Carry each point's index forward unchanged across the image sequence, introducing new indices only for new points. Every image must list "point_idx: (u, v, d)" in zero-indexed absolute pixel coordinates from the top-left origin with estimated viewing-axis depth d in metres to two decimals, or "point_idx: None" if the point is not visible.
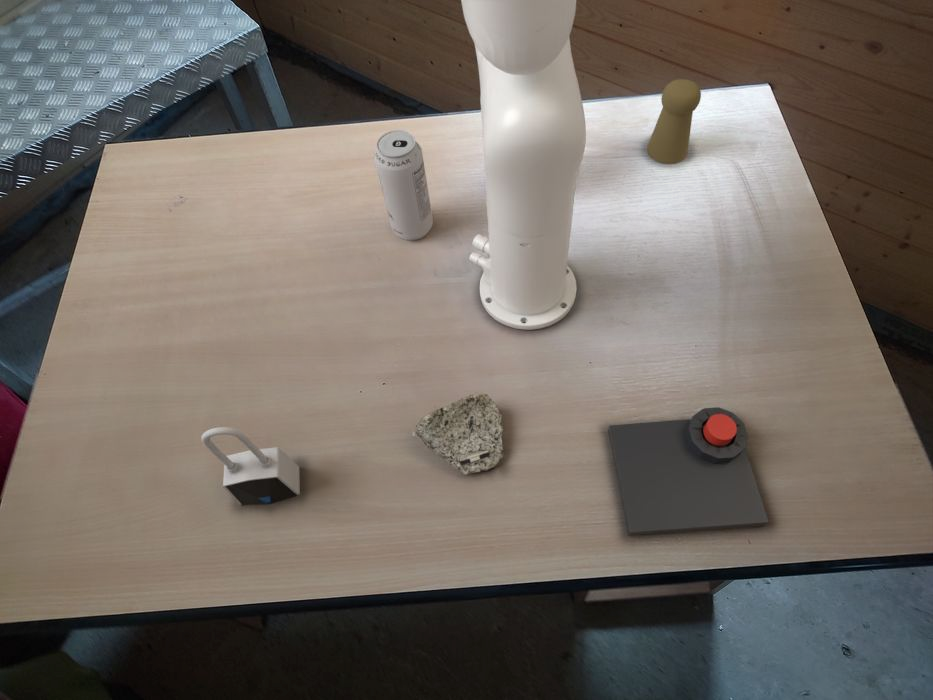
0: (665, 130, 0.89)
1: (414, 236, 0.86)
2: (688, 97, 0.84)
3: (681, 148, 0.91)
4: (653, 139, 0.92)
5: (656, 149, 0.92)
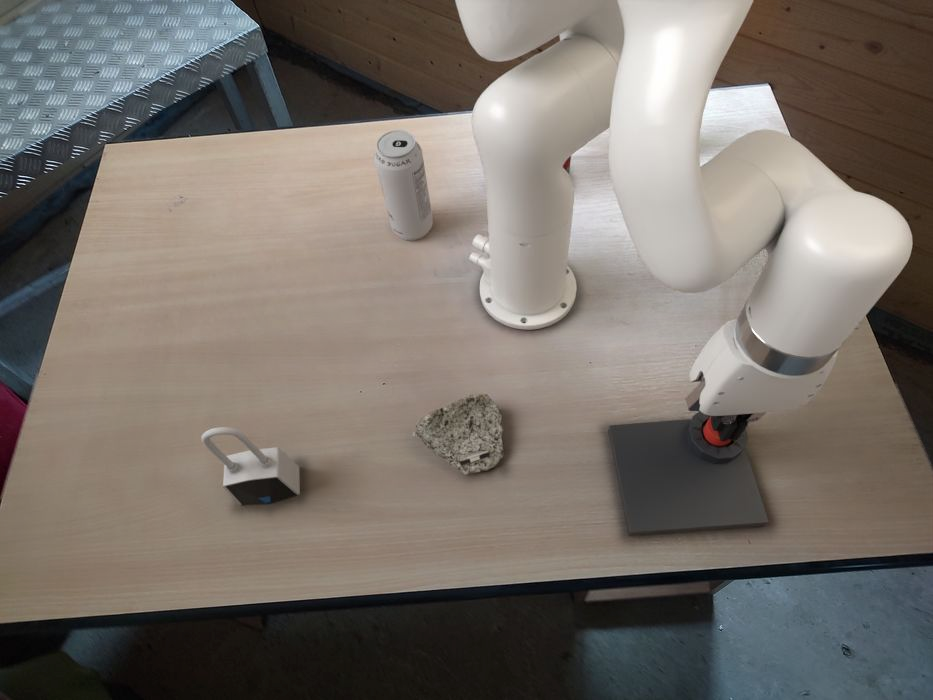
0: None
1: (414, 236, 0.86)
2: None
3: None
4: None
5: None
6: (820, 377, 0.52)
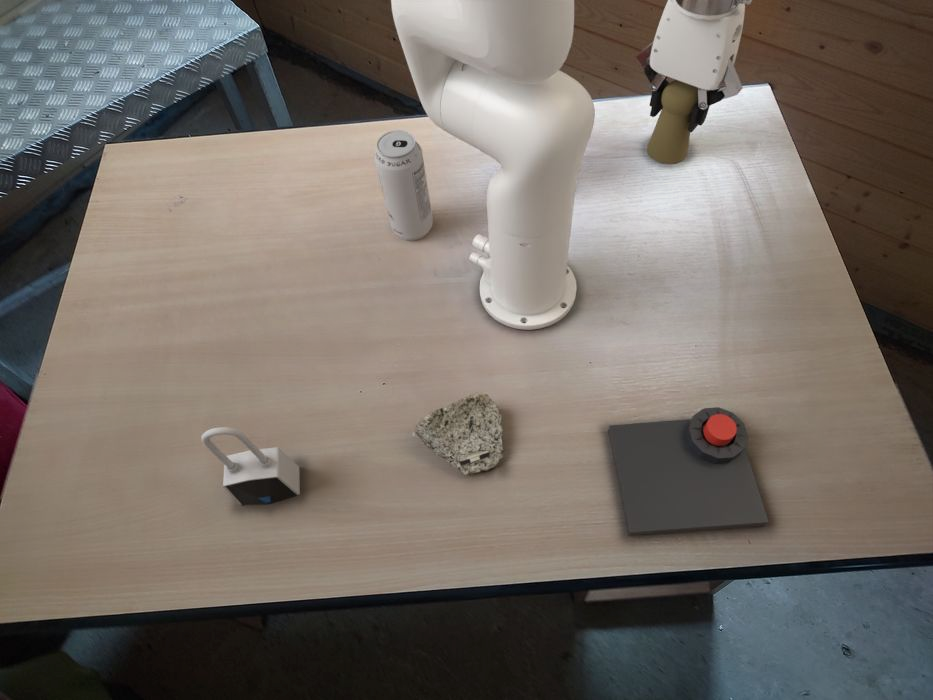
0: (665, 130, 0.89)
1: (414, 236, 0.86)
2: (688, 97, 0.84)
3: (681, 148, 0.91)
4: (653, 138, 0.92)
5: (656, 149, 0.92)
6: (718, 44, 0.75)
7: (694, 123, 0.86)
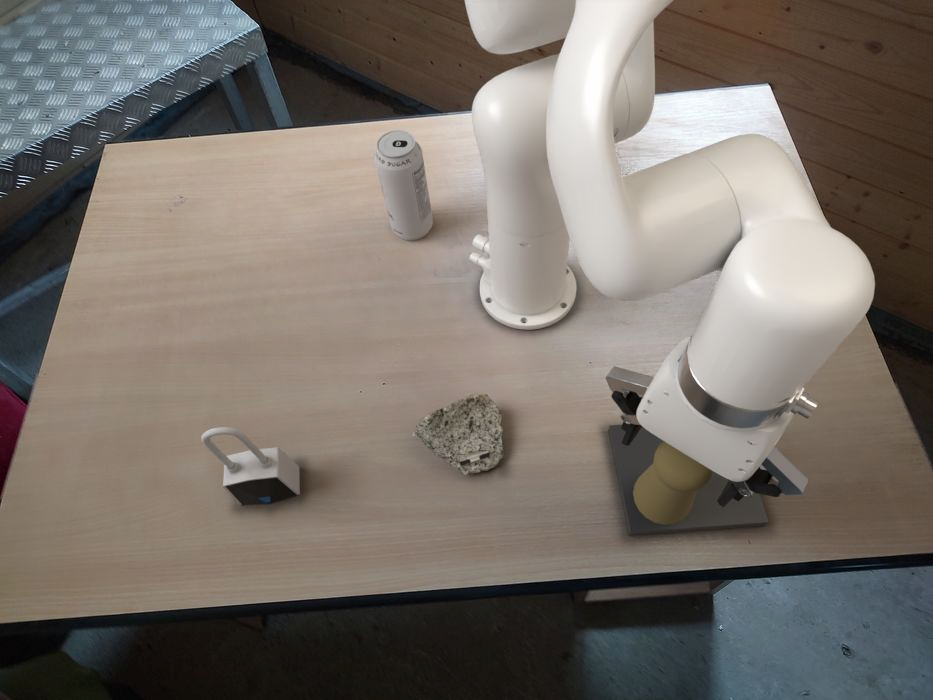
0: (660, 496, 0.59)
1: (414, 236, 0.86)
2: (694, 478, 0.55)
3: (683, 512, 0.61)
4: (641, 491, 0.62)
5: (647, 507, 0.62)
6: (750, 450, 0.45)
7: None
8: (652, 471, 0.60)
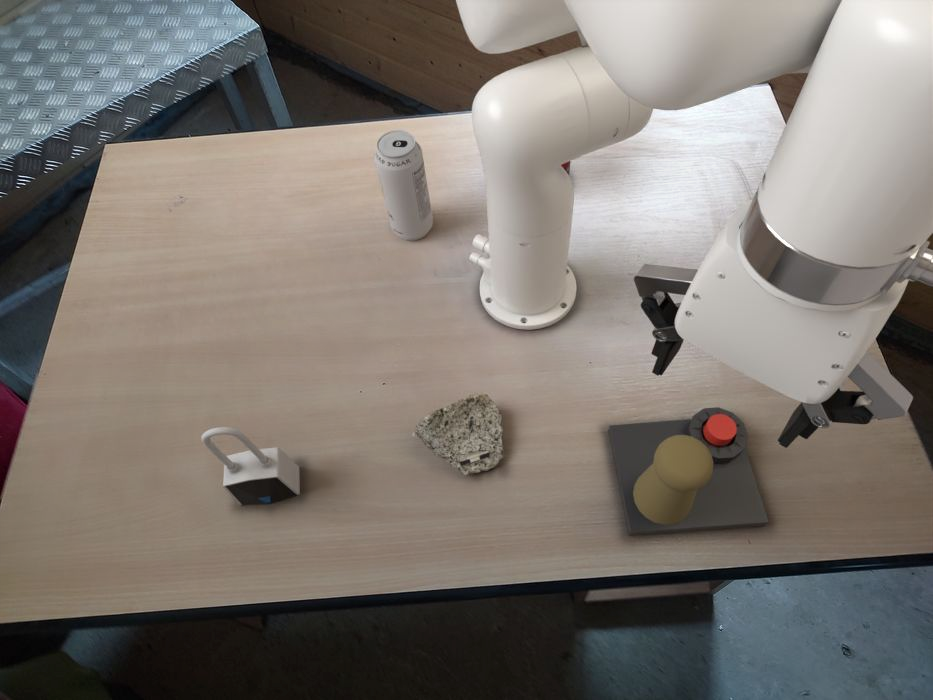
0: (660, 496, 0.59)
1: (414, 236, 0.86)
2: (694, 478, 0.55)
3: (683, 512, 0.61)
4: (641, 491, 0.62)
5: (647, 507, 0.62)
6: (840, 347, 0.32)
7: None
8: (652, 471, 0.60)
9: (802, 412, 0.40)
